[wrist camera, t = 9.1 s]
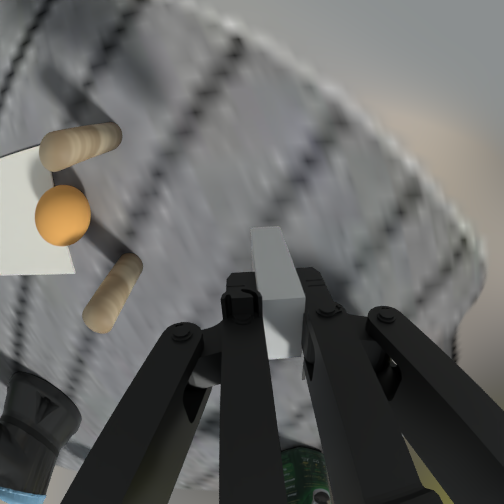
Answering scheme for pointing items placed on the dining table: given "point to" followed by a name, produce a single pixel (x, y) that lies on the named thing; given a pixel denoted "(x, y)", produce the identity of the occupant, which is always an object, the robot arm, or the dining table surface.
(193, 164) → the dining table surface
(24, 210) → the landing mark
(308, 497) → the coffee jar
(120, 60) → the dining table surface
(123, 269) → the post
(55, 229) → the ball
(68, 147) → the post
